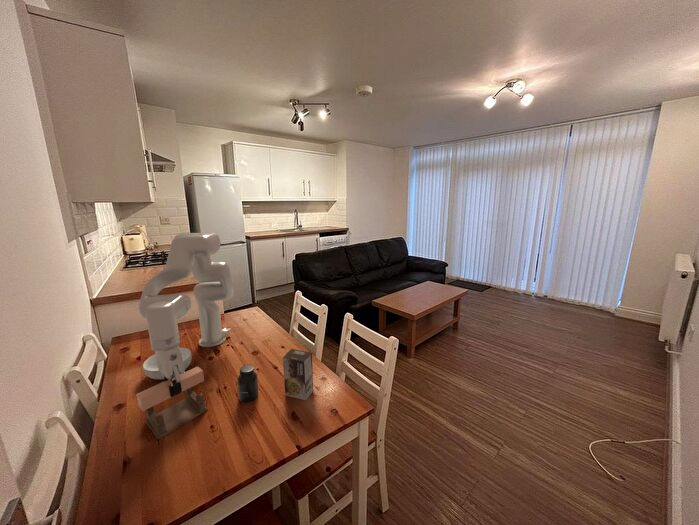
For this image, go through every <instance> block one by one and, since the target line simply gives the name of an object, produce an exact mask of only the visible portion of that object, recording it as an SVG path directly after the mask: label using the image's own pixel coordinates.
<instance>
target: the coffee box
mask: <svg viewBox="0 0 699 525" xmlns="http://www.w3.org/2000/svg"><path fill="white" fill-rule="evenodd" d="M282 367H283V379H284V395H285V396H287V397H291V398H295V399H299V400H302V401H307V400H308V399H309V397H310V396H311V395H312V393H313V392H314V377H313V376H314V375H313V374H314V373H313V352H310V351H305V350H299V349H294V348H291V349H289V351H288V352H286V354H285V355H283V357H282Z"/></svg>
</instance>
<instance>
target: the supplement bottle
mask: <svg viewBox="0 0 699 525" xmlns="http://www.w3.org/2000/svg"><path fill="white" fill-rule="evenodd" d="M258 379H259V378H258V374H257V373H256V371H255V367H254V366H253V365H252V364H246V365H243V366H241V367H240V369H239V375H238V377H237V389H238V392H237V393H238V400H239V401H240V402H242V403H245V404H249V403H252V402H254V401H256V399H257V398H258V396H259V382H258Z"/></svg>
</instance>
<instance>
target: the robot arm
mask: <svg viewBox="0 0 699 525" xmlns="http://www.w3.org/2000/svg"><path fill="white" fill-rule="evenodd" d="M220 248H221V239H220V236H219V235H218V234H217V233H215V232H186V233H179V234H178V233H177V234H176V235H175V236H174V238H173V239H172V240H171V243H170V247H169V250H168V255H167V259H166V263H165V266H164V268H163V269H161V270H160V271H158V272H157V273H156V274H155V275H153V276H152V277H151V278H150V279H149V280H148V281H147V282H146V284H145V285H144V287H143V290H142V293H141V296H140V300H139V305H138V311H139V314H140V316H141V317H143V318H145V319H146V323H147V324H146V325H147V330H148V335H149V342H150V348H151V350H152V351H154V355H155V357H156V363H157V367H158V370H159V371H160V372H161V373H162V378H163V379H162V382H164V381H167V380H169V383H170V386H169V390H170V396H171V398H174V397H176V396H177V395H180V394H181V393H183V392H182V388H181V377H180V374H182V373H184V372H186V369H185V368H184V363H183V358H182V354H181V350H180V348H181V347H180V345H179V344H180V343H181V340H180V333H179V327H178V326H179V325H178V320H179V319H180V318H182V317H184V316H185V315H187V314H188V313H189V312H190V309H191V308H192V299H191V297H189V295H187V294H184V293H176V294H175V293H173V294H172V293H171V294H159V293H160V292H161V291H162V290H163V289H165V288H166V287H169V286H171V285H172V284H175V283H177V282H180V281H181V280H183V279H187V278H188V277H189V276H190V275H191V274H192V275H193V278H194V281H196V282H198V283H197V284H196V285H194V287H193V296H194V300H195V301H196V302H195V303H196V306H197V313H198V319H199V327H200V334H201V338H200V339H199V340H198V346H200V347H203V348H211V347H216V346H219V345H222V343H224V342H226V340H227V336H226V335H227V334H229V333H232V328H226V327H225V328H223V327H222V319H221V311H220V310H221V309H220V305H219V304H218V303H217V301H226V300H227V301H228V300H230V299H232V298H233V296H234V286H233V280H232V274H231V269H230V266H229V264H228V263H227V262H224V261H212V260H211V259H212V258H211V256H213V255H215V254H216V253H217V252H219V251H220ZM222 328H223V329H222ZM179 372H180V373H179ZM173 374H174V375H173ZM174 377H175V380H173V381H172V378H174Z"/></svg>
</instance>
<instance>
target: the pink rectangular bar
mask: <svg viewBox="0 0 699 525" xmlns="http://www.w3.org/2000/svg"><path fill="white" fill-rule="evenodd" d="M179 374H180V377H181V388H182V392H181V393H183V392H185V391H186V390H187V389H189V388H191V387H192V388H193V387H195V386H197V385H199V384H200V383H203V382H204V381H205V376H204V370H203V369H202V368H201V367H199V366H195V367H193V368H191V369H189V370H185V372H184V373H182V374H181V373H179ZM173 380H175V377H174V378H172V381H173ZM169 386H170V383H169V380H167V381H164V382H163V381H162V382H160V383H157V384H156V385H153V386H151V387H149V388H146V389H144V390H142V391H140V392H138V393H136V394H135V395H136V399H137V406H138V407H139V408H140V409H141V411H142V412H145V411H146V409H149V408H151V407H153V406H156V405H158V404H161V403H162V402H165V401H167V400H169V399H171V398H172V397H171V396H170V390H169Z"/></svg>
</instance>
